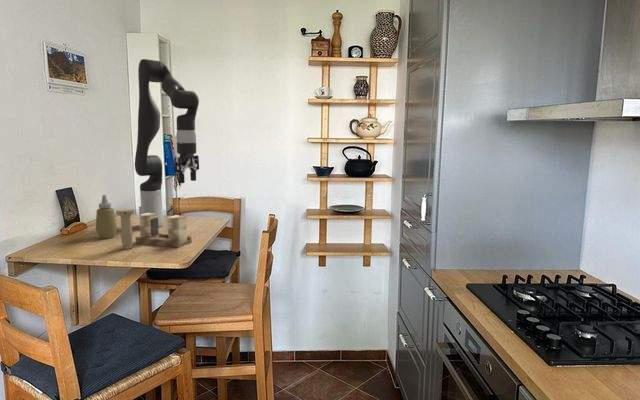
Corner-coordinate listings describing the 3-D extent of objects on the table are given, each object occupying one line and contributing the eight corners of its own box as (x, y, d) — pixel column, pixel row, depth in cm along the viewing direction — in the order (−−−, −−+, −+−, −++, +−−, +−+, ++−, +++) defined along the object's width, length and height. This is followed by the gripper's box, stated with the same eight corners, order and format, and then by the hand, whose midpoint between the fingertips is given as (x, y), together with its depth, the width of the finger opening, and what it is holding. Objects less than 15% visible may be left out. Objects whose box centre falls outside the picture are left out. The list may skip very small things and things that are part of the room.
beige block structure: (135, 242, 176) (134, 215, 174) (150, 237, 185) (149, 211, 183) (178, 247, 170) (177, 219, 168) (191, 242, 179) (190, 215, 177)
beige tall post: (136, 249, 167) (134, 210, 165) (117, 250, 165) (115, 211, 163) (136, 246, 172) (134, 208, 169) (118, 247, 169) (116, 209, 167)
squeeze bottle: (121, 236, 186) (119, 194, 184) (105, 240, 179) (102, 197, 176) (108, 234, 190) (105, 193, 187) (91, 238, 183) (88, 195, 180)
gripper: (188, 141, 183) (189, 179, 185) (167, 142, 169) (169, 183, 172) (204, 141, 181) (204, 180, 183) (184, 142, 167) (186, 184, 170)
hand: (187, 181), depth 178 cm, fingers open, 8 cm apart
